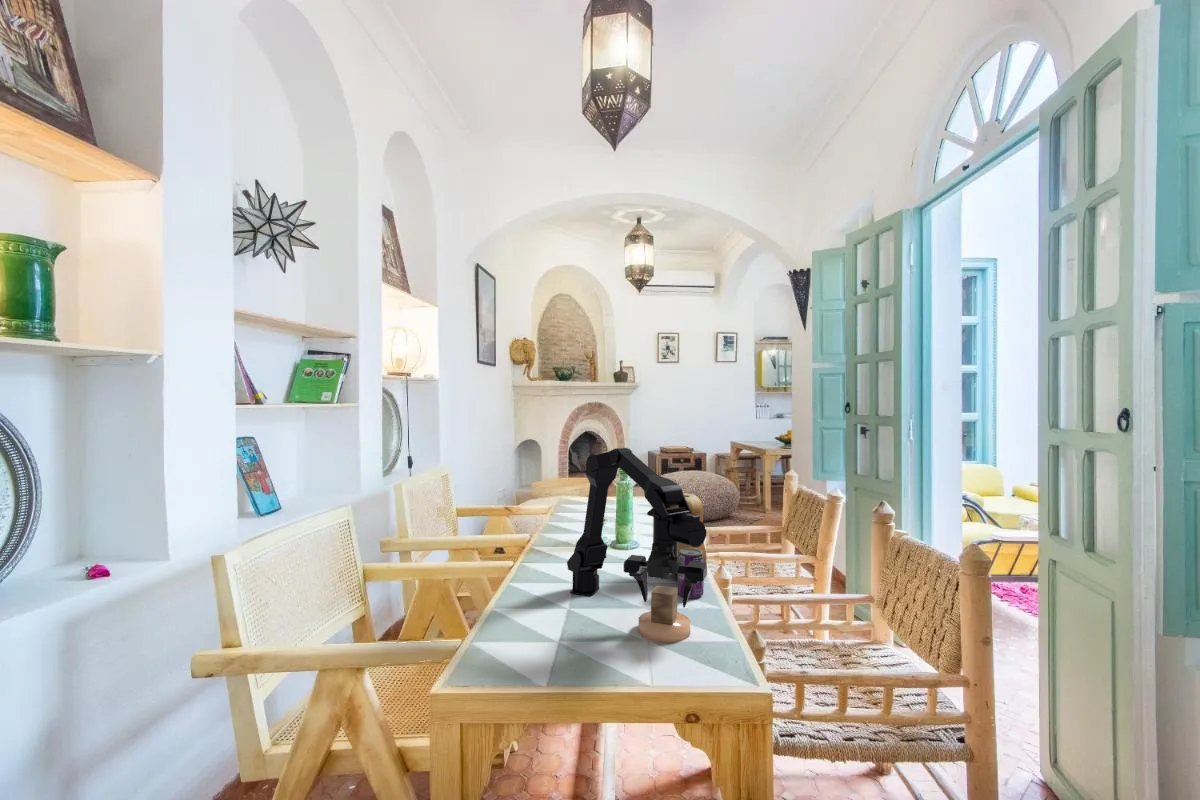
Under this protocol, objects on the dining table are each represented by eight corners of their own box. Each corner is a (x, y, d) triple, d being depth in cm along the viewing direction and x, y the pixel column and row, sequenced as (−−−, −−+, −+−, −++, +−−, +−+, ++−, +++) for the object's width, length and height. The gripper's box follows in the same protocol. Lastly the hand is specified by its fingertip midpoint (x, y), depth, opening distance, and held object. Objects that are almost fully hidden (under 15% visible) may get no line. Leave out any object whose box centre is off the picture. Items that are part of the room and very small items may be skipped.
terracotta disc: (632, 639, 131) (632, 625, 131) (646, 619, 142) (646, 607, 142) (684, 647, 127) (684, 634, 127) (694, 626, 138) (694, 614, 138)
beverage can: (703, 600, 154) (703, 555, 154) (676, 598, 156) (676, 554, 155) (703, 591, 161) (704, 548, 161) (678, 589, 163) (678, 547, 162)
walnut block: (650, 622, 133) (651, 592, 133) (656, 614, 138) (656, 585, 137) (672, 625, 131) (672, 594, 131) (677, 617, 136) (677, 587, 136)
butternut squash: (658, 583, 168) (659, 497, 167) (660, 569, 181) (661, 489, 181) (707, 586, 166) (708, 499, 165) (705, 571, 179) (706, 491, 178)
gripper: (616, 542, 130) (615, 611, 130) (699, 550, 123) (698, 623, 123) (630, 530, 140) (630, 594, 140) (707, 538, 134) (707, 605, 134)
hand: (664, 604), depth 134 cm, fingers open, 9 cm apart
